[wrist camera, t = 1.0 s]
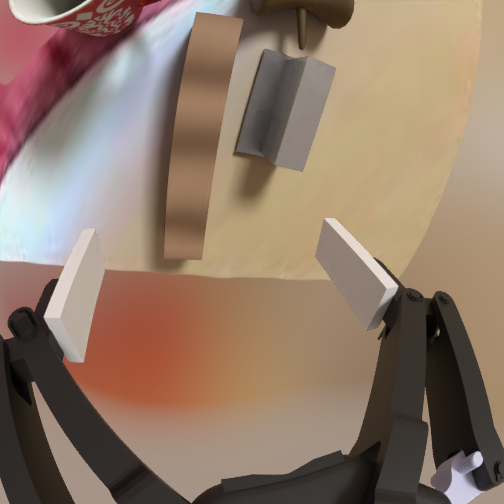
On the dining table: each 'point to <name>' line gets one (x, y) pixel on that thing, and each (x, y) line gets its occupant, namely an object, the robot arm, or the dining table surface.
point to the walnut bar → (198, 132)
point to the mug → (80, 14)
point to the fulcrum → (285, 108)
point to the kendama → (320, 3)
